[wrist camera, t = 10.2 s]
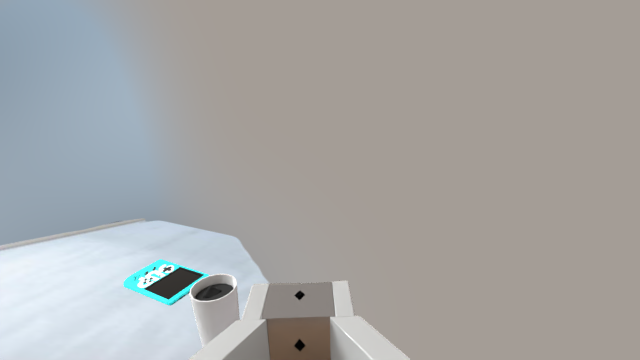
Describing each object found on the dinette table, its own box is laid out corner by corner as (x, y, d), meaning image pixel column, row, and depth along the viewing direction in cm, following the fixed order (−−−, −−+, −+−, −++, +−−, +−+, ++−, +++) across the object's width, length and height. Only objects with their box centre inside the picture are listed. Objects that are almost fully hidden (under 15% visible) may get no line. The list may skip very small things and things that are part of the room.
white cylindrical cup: (190, 354, 45) (178, 297, 43) (216, 322, 51) (208, 271, 49) (228, 364, 43) (219, 305, 41) (252, 330, 50) (245, 276, 47)
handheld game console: (162, 262, 72) (161, 257, 71) (211, 279, 65) (210, 273, 64) (119, 286, 63) (117, 281, 63) (170, 308, 56) (169, 302, 56)
